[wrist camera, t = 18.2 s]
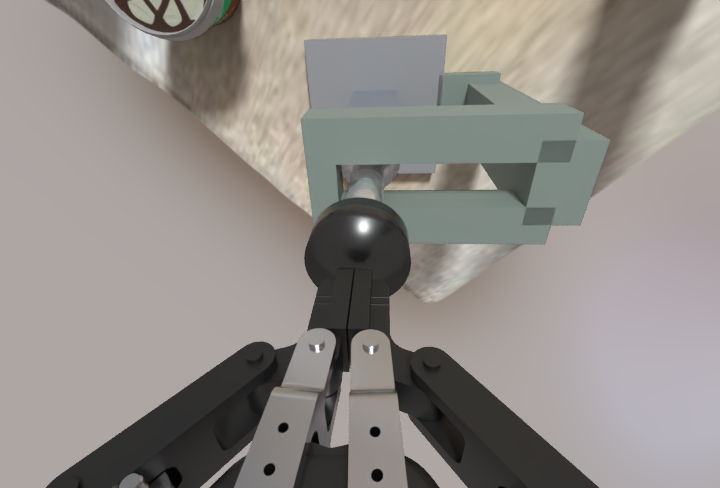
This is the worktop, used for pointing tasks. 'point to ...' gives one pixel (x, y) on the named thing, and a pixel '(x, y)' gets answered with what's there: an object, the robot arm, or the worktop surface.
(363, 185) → the press ram
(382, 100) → the block
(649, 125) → the worktop surface
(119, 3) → the food container
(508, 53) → the worktop surface
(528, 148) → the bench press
